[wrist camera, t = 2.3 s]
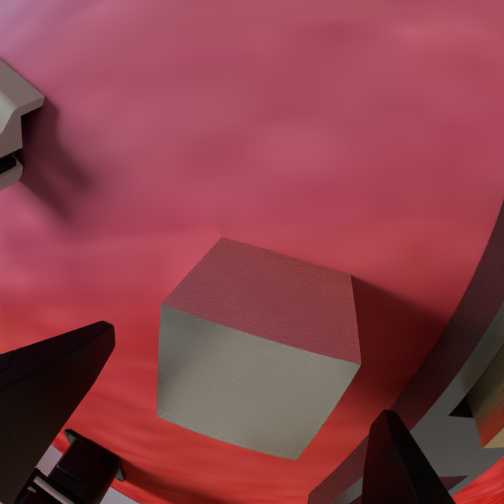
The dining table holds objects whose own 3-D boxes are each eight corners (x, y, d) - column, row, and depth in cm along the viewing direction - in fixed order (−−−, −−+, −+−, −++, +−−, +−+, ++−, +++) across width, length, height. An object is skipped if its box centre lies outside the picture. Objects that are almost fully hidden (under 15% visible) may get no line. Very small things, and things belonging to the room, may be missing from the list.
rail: (404, 501, 17) (405, 524, 15) (308, 494, 18) (304, 520, 16) (604, 251, 7) (630, 271, 5) (509, 183, 8) (545, 198, 6)
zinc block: (309, 368, 13) (296, 460, 9) (204, 336, 14) (157, 416, 9) (350, 274, 11) (361, 364, 7) (222, 236, 12) (161, 303, 7)
